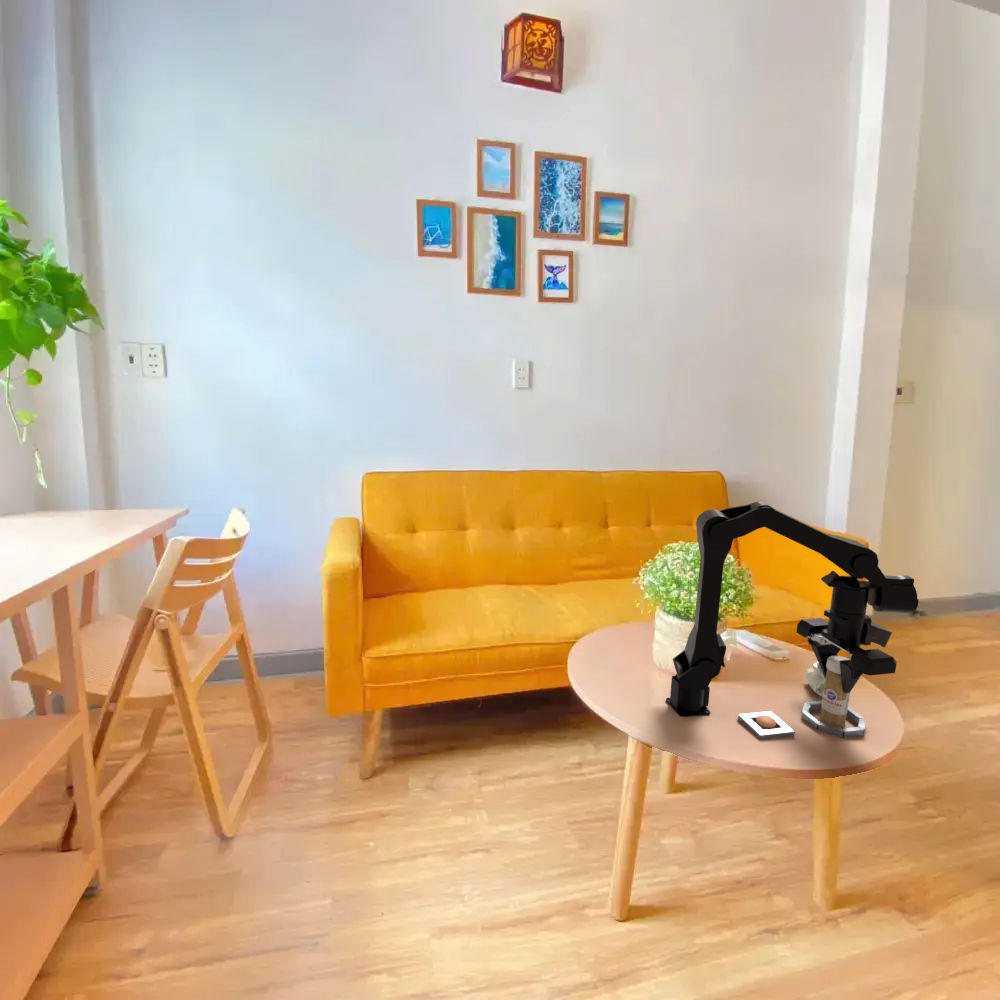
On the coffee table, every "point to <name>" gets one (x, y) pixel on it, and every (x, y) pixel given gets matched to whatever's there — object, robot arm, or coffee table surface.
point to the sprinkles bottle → (834, 695)
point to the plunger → (765, 722)
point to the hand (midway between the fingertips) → (837, 686)
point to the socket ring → (833, 730)
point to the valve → (815, 677)
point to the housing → (777, 732)
